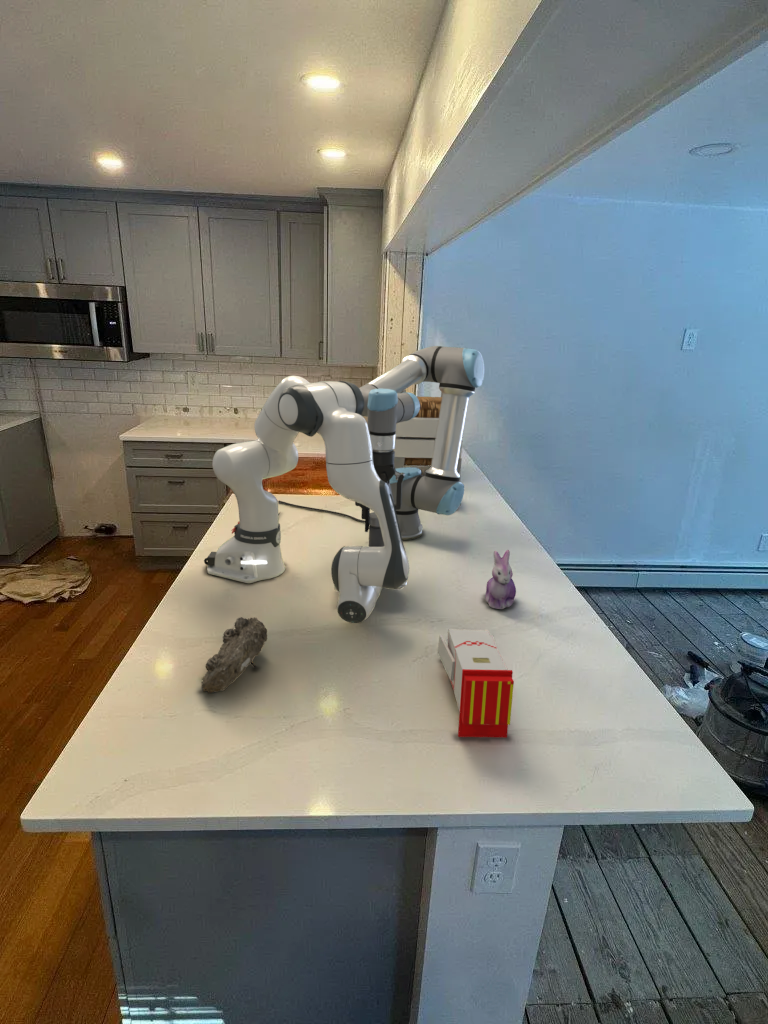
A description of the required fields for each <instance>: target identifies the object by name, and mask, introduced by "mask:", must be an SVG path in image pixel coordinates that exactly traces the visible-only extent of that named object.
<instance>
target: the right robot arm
mask: <svg viewBox="0 0 768 1024" xmlns="http://www.w3.org/2000/svg"><path fill="white" fill-rule="evenodd" d="M484 379H485V362H484V358H483V355H482V353H481V352H480V351H479V350H477V349H474V348H468V347H455V346H441V345H433V346H428V347H424V348H421V349H418V350H416V351H414V352H412V353H409V354H407V355H406V356H405V357H404V358H402V360H401V362H400V363H399V364H397V365H396V366H394V367H392V368H391V369H389V370H387V371H386V372H384V373H382V374H381V375H379V376H377V377H375V378H374V379H372V380H370V381H369V382H367V383H366V384H364V385H361V386H360V387H358V388H359V389H360V390H361V392H362V395H363V398H364V409H363V413H362V415H361V416H363V417H364V418H365V417H366V418H367V424H368V428H369V432H370V437H371V443H372V451H373V463H374V467H375V470H376V473H377V475H378V476H379V478H380V479H381V480H382V481H384V482H386V483H387V484H388V486H389V489H390V491H391V495H392V498H393V502H394V506H395V510H396V515H397V519H398V524H399V528H400V533H401V537H402V541H410V540H415V539H418V538H420V537H421V536H422V535H423V529H424V527H423V523H421V518H420V515H419V510H421V511H425V512H429V513H433V514H434V513H435V514H437V515H443V516H452V515H453V514H454V513H456V512H457V510H458V509H459V508H460V506H461V505H462V502H463V499H464V495H465V485H464V483H462V482H461V474H460V475H459V474H458V472H457V465H458V459H459V453H460V447H461V441H463V438H462V435H463V436H464V432H463V429H465V423H466V417H467V410H468V404H469V399H470V397H471V396H473V395H474V394H475V391H476V389H477V388H480V387H481V386H482V385H483V382H484ZM425 382H427V383H428V382H429V383H436V384H439V385H438V389H439V391H440V393H441V392H442V394H443V395H442V401H441V407H440V413H439V420H438V426H437V432H436V438H435V444H434V451H433V457H432V463H431V465H430V466H429V468H427V469H426V470H425V471H424V472H425V473H424V474H422V470H421V468H419V467H414V466H411V467H409V466H406V467H404V468H397V469H395V467H394V458H395V451H394V450H393V449H394V448H395V437H396V423H400V422H403V421H409V420H410V419H412V418H414V417H415V416H416V415H417V414H418V413H419V410H420V403H419V400H418V398H417V395H415V393H412V392H408V391H406V392H402V391H404V390H406V389H408V388H410V387H411V386H413V385H414V386H415V385H420V384H421V383H425ZM400 392H402V393H400ZM459 480H460V482H459ZM277 501H278V504H279V503H280V504H283V505H287V506H290V507H295V508H300V509H306V510H311V511H317V512H323V513H329V514H334V515H339V516H342V517H347V518H349V519H352V520H354V521H356V522H358V523H359V522H360V523H363V524H364V532H365V533H369V524H368V517H369V514H370V513H371V509H370V508H368V507H366V506H364V505H362V504H360V503H357V502H355V501H354V505H355V506H356V507H359V508H360V509H361V519H359V518H356V517H354V516H352V515H349V514H346V513H342V512H338V511H333V510H328V509H321V508H315V507H311V506H310V507H309V506H303V505H298V504H293V503H290V502H287V501H282V500H277ZM460 504H461V505H460Z"/></svg>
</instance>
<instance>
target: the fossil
mask: <svg viewBox="0 0 768 1024" xmlns="http://www.w3.org/2000/svg"><path fill="white" fill-rule="evenodd" d="M265 626H266V625H265V624H264V622H262V621H260V620H259V619H258V618H257V617H248V618H245V617H241V616H239V617H238V618H236V620H235V622H234V625H233V627H234V628H228V629H226V630H225V631H224V632H223V634H222V642H223V643H222V645H221V647H219V648H220V649H219V650H218V653H215V654H212V656H211V657H210V658H208V660H207V661H206V662H205V663H206V664H205V670H206V671H207V672H205V674H204V676H203V677H201V686H202V687H201V688H202V691H204V692H207V693H210V694H212V693H213V694H214V693H216V692H222V691H225V690H226V689H227V688H228V687H229V686H230V685H232V684H233V683H234V682H235V681H236V680H237V679H238V678H239V677H240V676H241V675H242V674H243V673H245V671H247V668H248V666H249V665H251V666H252V667H253V668H254V669H257V665H256V664H255V663H254V661H253V660H254V659H255V657H257V656H259V654H260V653H261V652H262V649H263V647H264V646H265V643H266V642H267V641H268V629H267V628H266V627H265Z"/></svg>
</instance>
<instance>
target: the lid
mask: <svg viewBox="0 0 768 1024" xmlns="http://www.w3.org/2000/svg"><path fill="white" fill-rule="evenodd" d="M368 524H369V525H371V526H375V527H380V524H379V520H378V517H377V515H376V514H375V513H374V511H371V512H370V514H369V517H368Z"/></svg>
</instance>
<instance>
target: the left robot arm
mask: <svg viewBox="0 0 768 1024" xmlns="http://www.w3.org/2000/svg"><path fill="white" fill-rule="evenodd" d="M359 388H360V387H359V386H358V385H356V384H355V383H353V382H349V381H344V380H338V381H331V380H330V381H329V380H321V381H316V382H310V381H309V380H307V379H306V378H304V377H302V376H300V375H289V376H286V377H284V378H283V379H282V380H281V381H280V382H279V383H278V384H277V385H276V387H275V388H274V389H273V390H272V391H271V393H270V394H269V396H268V397H267V399H266V401H265V402H264V404H263V406H262V407H261V410H260V411H259V413H258V415H257V417H256V419H255V421H254V432H255V435H256V437H257V438H256V439H253V440H249V441H243V442H242V441H241V442H237V443H236V442H235V443H232V444H229V445H226V446H224V447H222V448H219V449H217V451H216V452H215V453H214V455H213V457H212V463H211V464H212V470H213V473H214V475H215V477H216V478H217V480H218V481H220V482H221V483H222V484H224V485H225V486H227V487H228V488H229V489H230V490H231V491H232V492H233V494H234V497H235V499H236V502H237V508H238V519H239V521H237V523H236V525H234V526H233V528H232V529H231V530H230V531H231V535H232V534H234V535H233V536H231V537H230V538H229V539H227V540H226V541H225V542H224V543H222V544H220V546H219V547H218V548H217V550H216V551H210V553H209V554H208V556H207V557H206V558H204V560H203V562H204V564H205V565H206V566H207V568H206V572H207V574H209V575H213V576H216V577H221V578H225V579H229V580H233V581H237V582H241V583H244V584H252V583H256V582H259V581H263V580H270V579H274V578H276V577H278V576H280V575H282V574H283V573H284V572H285V570H286V566H285V562H284V560H283V555H282V548H281V542H282V541H281V539H282V532H281V524H280V521H279V516H278V514H279V502H278V501H279V500H278V499H277V496H276V495H274V494H273V493H272V492H270V491H267V490H265V489H264V487H263V480H266V479H271V478H275V477H279V476H282V475H285V474H286V473H289V472H291V471H292V470H294V469H295V468H296V467H297V465H298V463H299V450H298V448H297V446H296V444H295V443H294V442H295V440H296V438H297V436H299V434H300V433H302V434H304V435H305V436H307V437H310V438H312V437H314V436H315V435H316V434H318V435H319V436H320V437H321V438H322V440H323V442H324V449H325V450H324V451H325V469H326V477H327V481H328V483H329V485H330V487H331V488H332V489H333V490H334V491H335V493H337V494H338V495H339V496H341V497H343V498H345V499H347V500H350V501H352V502H354V503H355V502H357V503H360V504H362V505H364V506H366V507H368V508H370V511H371V512H374V513H375V514H376V515H377V517H378V520H379V524H380V528H381V533H382V537H383V541H384V546H383V547H369V546H363V545H343V546H342V547H340V549H339V550H338V551H337V552H336V554H334V557H333V559H332V563H331V573H330V574H331V579H332V583H333V586H334V587H333V588H334V591H336V592H338V599H337V604H336V611H337V615H338V617H340V619H342V620H343V621H344V622H347V623H349V624H361V623H363V622H365V621H366V620H367V619H368V618H369V617H370V616H371V614H372V612H373V611H374V609H375V607H376V604H377V600H378V599H379V597H380V594H381V592H382V589H389V590H397V591H398V590H402V589H403V588H406V587H407V584H408V581H409V575H410V562H409V558H408V555H407V551H406V548H405V545H404V542H403V541H404V540H402V537H401V533H400V528H399V524H398V519H397V515H396V510H395V506H394V502H393V498H392V495H391V491H390V489H389V486H388V484H387V483H386V482H384V481H382V480H381V479H380V478H379V476H378V475H377V473H376V470H375V467H374V463H373V451H372V443H371V437H370V432H369V428H368V420H366V418H365V416H361V415H362V413H363V409H364V398H363V395H362V392H361V390H360V389H359Z"/></svg>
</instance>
